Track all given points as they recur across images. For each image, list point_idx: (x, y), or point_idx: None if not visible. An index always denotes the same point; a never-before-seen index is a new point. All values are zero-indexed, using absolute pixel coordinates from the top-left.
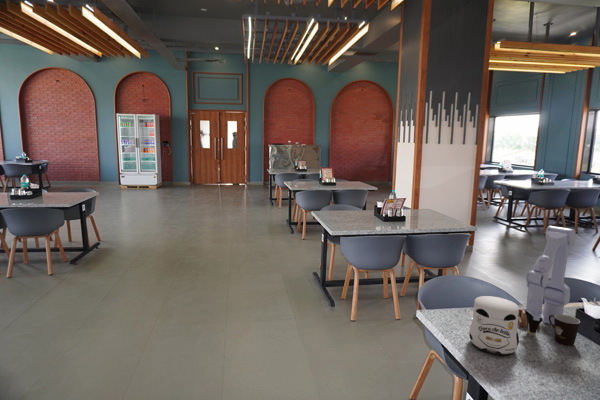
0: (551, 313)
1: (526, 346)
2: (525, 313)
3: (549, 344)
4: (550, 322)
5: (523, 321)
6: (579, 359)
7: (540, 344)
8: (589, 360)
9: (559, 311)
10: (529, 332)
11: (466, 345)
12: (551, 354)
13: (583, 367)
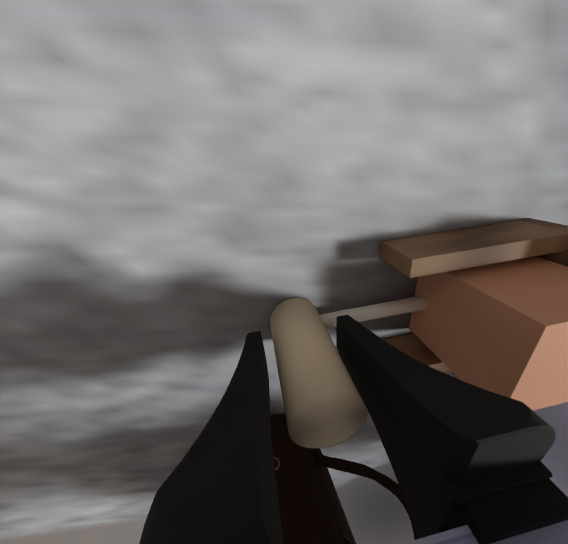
0: (555, 441)
1: (7, 309)
2: (529, 340)
3: (192, 404)
4: (379, 478)
5: (447, 280)
6: (109, 495)
7: (148, 373)
8: (136, 511)
9: (564, 492)
10: (276, 319)
11: None
12: (38, 426)
13: (24, 514)
